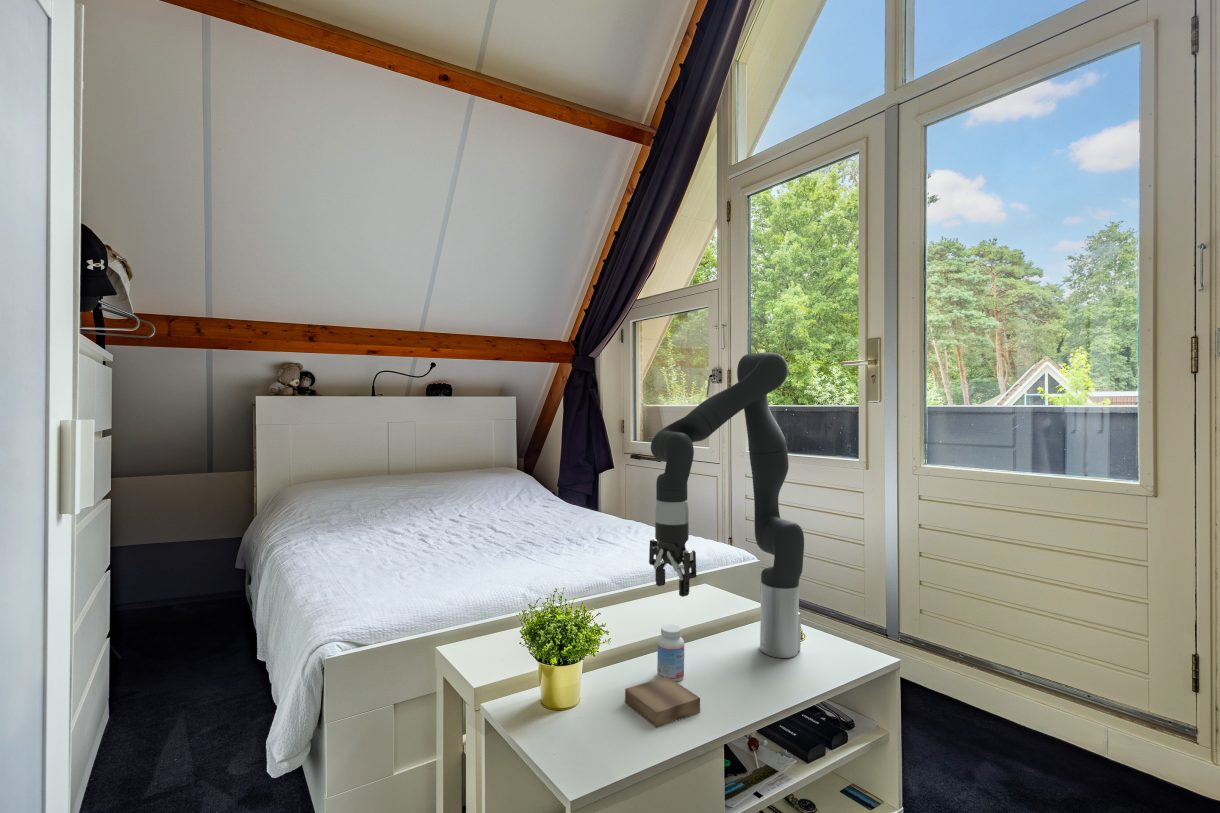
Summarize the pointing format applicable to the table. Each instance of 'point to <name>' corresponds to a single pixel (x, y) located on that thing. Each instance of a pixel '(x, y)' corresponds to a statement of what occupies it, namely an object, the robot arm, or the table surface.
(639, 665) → the table surface
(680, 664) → the pill bottle
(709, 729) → the table surface
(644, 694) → the walnut stand
